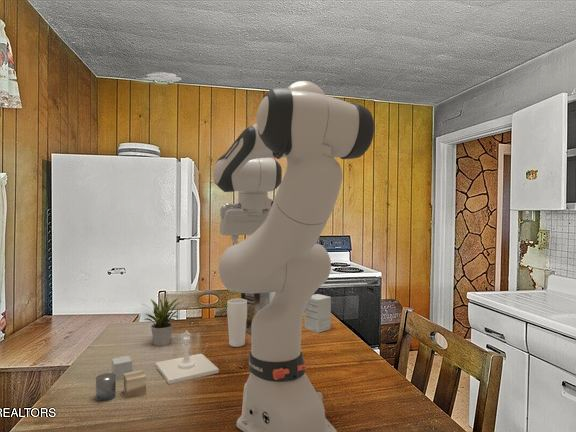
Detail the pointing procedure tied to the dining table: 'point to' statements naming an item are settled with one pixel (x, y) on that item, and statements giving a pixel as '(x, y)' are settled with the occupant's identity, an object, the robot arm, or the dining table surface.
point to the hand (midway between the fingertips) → (252, 249)
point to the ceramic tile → (177, 375)
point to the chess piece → (186, 355)
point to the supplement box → (318, 313)
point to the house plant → (162, 322)
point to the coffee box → (254, 305)
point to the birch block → (134, 383)
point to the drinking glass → (237, 321)
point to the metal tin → (105, 387)
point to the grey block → (121, 366)
